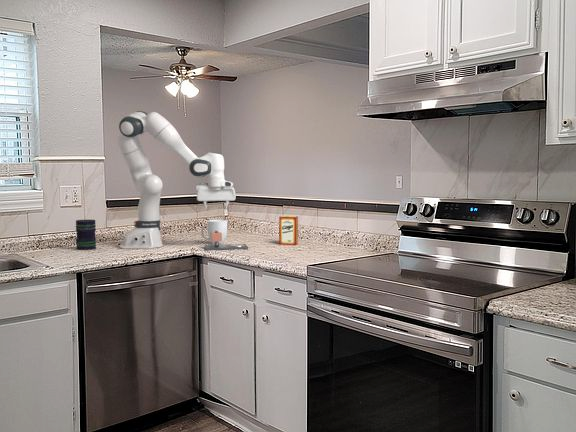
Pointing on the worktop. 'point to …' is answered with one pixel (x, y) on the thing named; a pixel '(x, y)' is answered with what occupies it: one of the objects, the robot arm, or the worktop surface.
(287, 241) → the baking soda box
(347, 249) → the worktop surface
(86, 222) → the storage jar
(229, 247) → the base
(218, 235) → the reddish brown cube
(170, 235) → the worktop surface
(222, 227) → the mug
